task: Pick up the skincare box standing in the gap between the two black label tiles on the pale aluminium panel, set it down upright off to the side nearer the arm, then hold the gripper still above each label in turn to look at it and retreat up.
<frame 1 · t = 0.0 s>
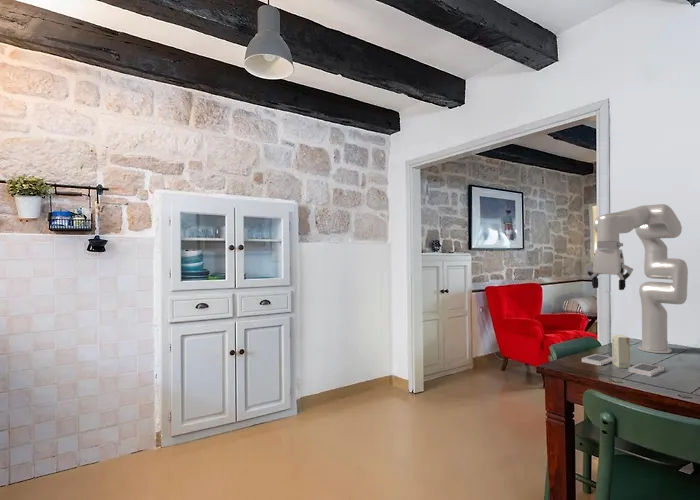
hand: (608, 288, 168), 31 cm above the table, tool pointing down, fingers open, 9 cm apart
skincare box: (621, 366, 169), on the table
label panel: (621, 366, 169), on the table
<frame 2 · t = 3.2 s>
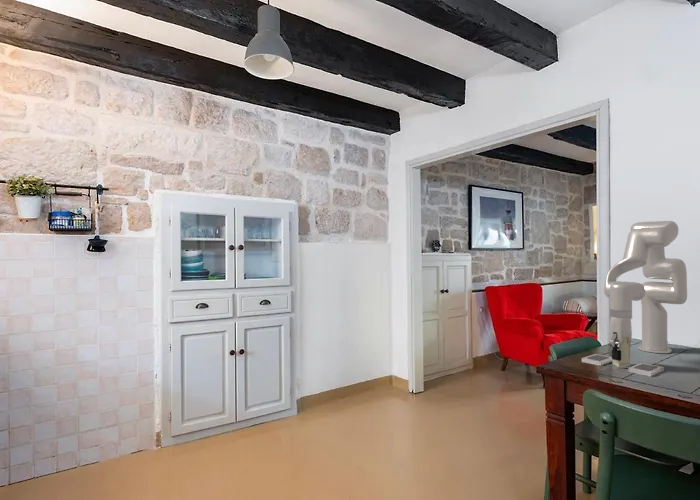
hand: (621, 358, 169), 3 cm above the table, tool pointing down, fingers closed on skincare box, 7 cm apart
skincare box: (621, 366, 169), on the table, touching gripper
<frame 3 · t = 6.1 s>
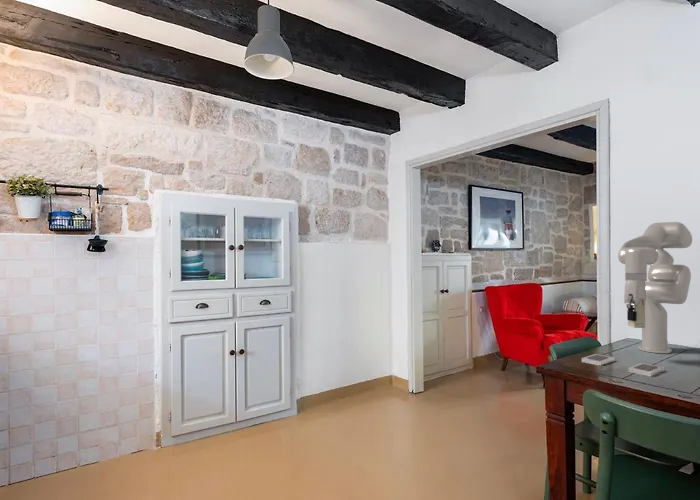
hand: (636, 319, 177), 17 cm above the table, tool pointing down, fingers closed on skincare box, 7 cm apart
skincare box: (636, 327, 177), point 14 cm above the table, touching gripper
when the fingers open (5 cm above the table, at t = 9.4 s): skincare box drops 1 cm, on the table.
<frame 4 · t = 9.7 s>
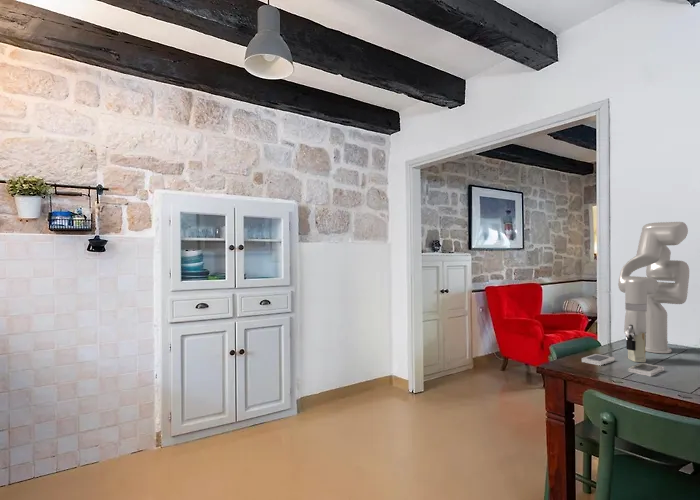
hand: (636, 348, 177), 5 cm above the table, tool pointing down, fingers open, 9 cm apart
skincare box: (636, 360, 178), on the table
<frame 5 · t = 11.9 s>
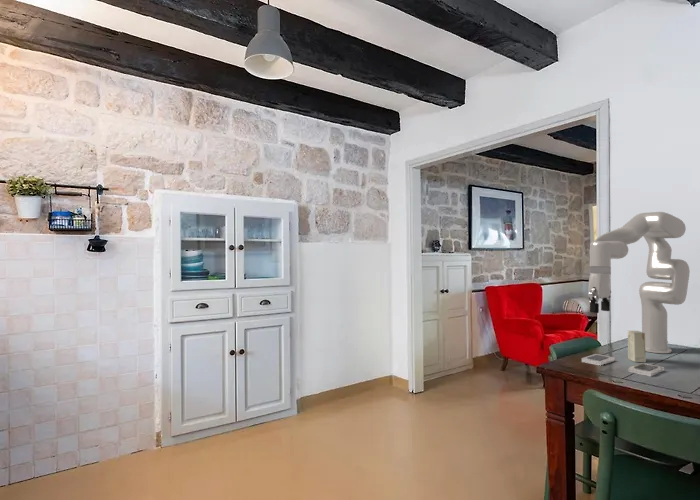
hand: (599, 311, 176), 21 cm above the table, tool pointing down, fingers open, 9 cm apart
nothing on the table moved.
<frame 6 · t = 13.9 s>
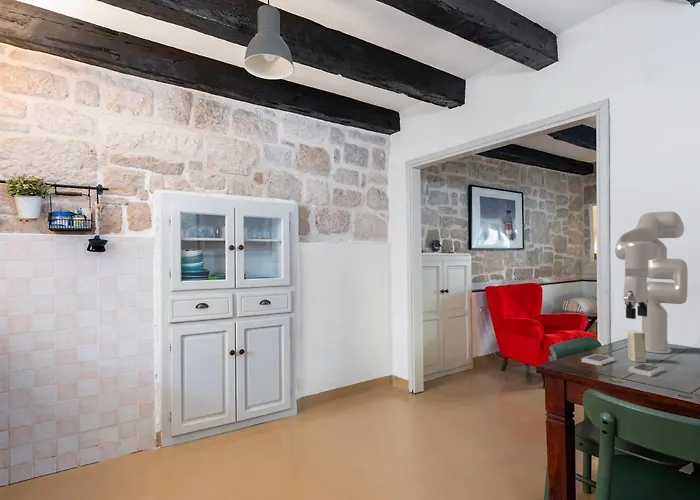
hand: (636, 317, 164), 20 cm above the table, tool pointing down, fingers open, 9 cm apart
nothing on the table moved.
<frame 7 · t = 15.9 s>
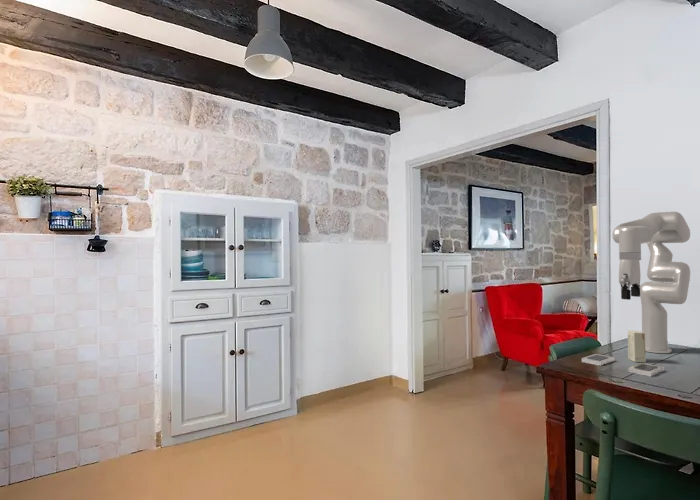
hand: (630, 297, 175), 27 cm above the table, tool pointing down, fingers open, 9 cm apart
nothing on the table moved.
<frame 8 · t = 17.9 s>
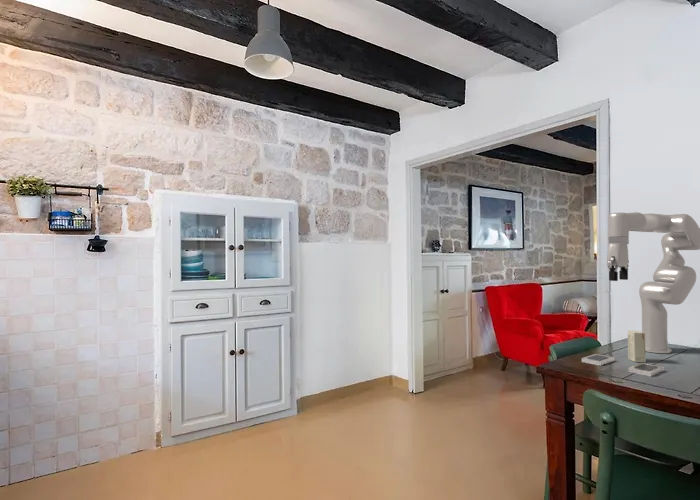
hand: (618, 280, 184), 33 cm above the table, tool pointing down, fingers open, 9 cm apart
nothing on the table moved.
at the end: skincare box inside the target area (0.4 cm from its centre), on the table; skincare box tilted 0°; the gripper is holding nothing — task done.
